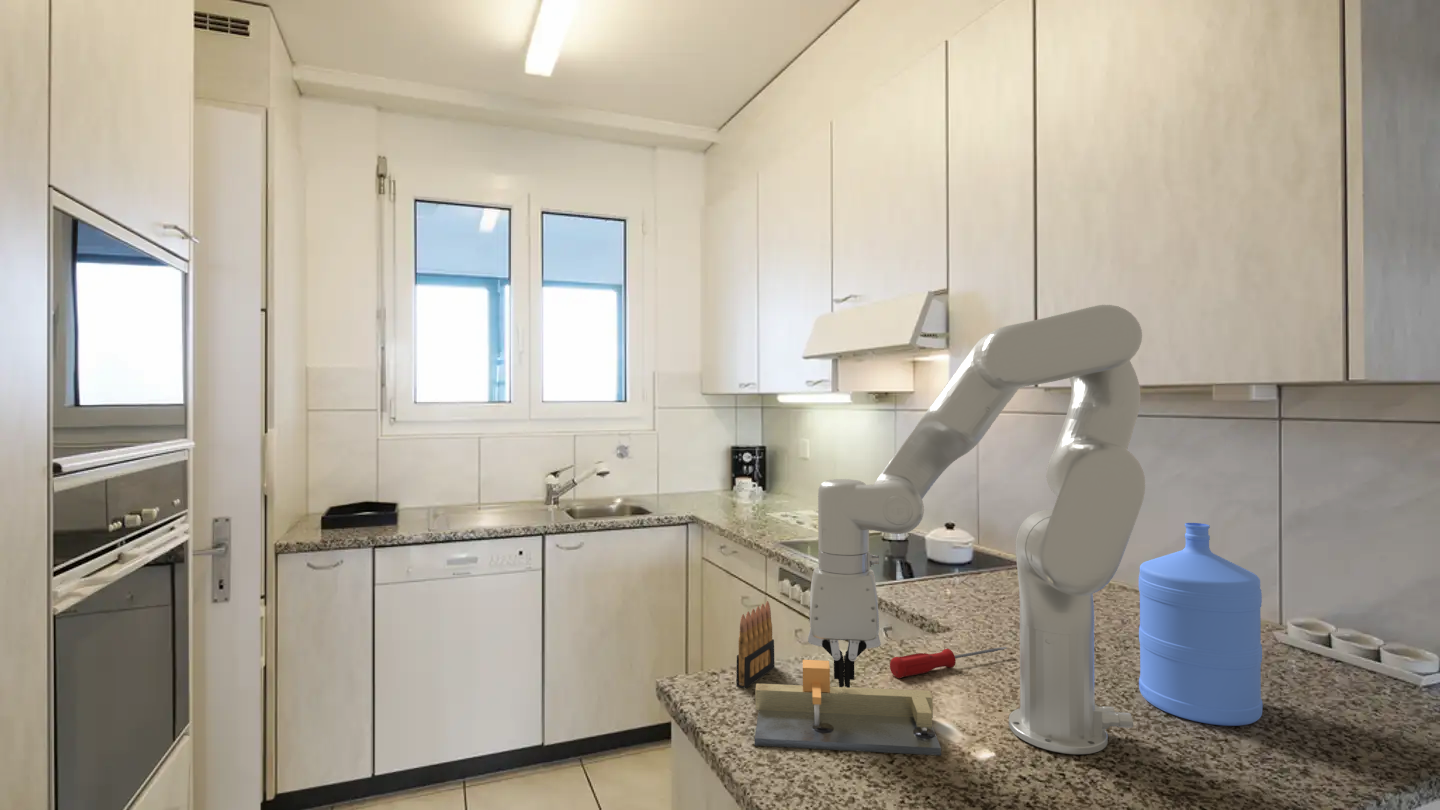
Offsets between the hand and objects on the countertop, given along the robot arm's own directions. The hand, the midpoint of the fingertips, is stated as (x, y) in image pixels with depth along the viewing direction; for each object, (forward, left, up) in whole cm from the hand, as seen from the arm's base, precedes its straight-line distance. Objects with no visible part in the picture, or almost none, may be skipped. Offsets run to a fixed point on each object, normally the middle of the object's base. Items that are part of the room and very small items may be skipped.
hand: (844, 683), depth 103 cm
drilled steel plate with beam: (0, +3, -5) cm, 6 cm away
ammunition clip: (+14, -14, -5) cm, 21 cm away
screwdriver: (-20, -22, -5) cm, 30 cm away
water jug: (-55, -10, -5) cm, 56 cm away
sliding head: (+4, +3, -4) cm, 6 cm away
